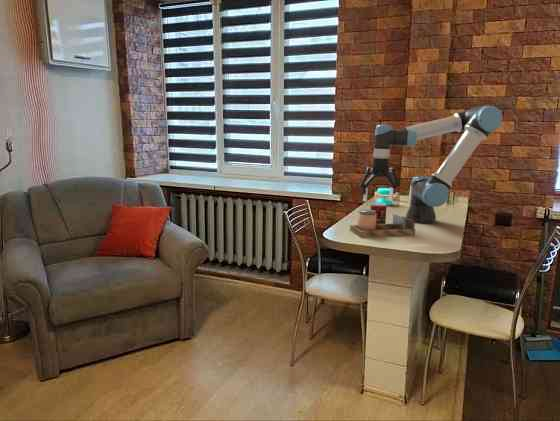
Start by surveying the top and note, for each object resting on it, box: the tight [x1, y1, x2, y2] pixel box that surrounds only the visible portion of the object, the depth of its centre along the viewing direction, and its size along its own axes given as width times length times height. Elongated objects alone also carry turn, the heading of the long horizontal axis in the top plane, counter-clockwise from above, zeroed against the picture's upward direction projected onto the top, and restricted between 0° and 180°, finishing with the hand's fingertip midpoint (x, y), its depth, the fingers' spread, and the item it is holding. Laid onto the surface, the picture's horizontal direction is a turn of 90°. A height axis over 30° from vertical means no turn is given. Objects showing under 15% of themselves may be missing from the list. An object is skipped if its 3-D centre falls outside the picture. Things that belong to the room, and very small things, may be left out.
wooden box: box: [349, 216, 416, 238], centre depth 196 cm, size 26×12×7 cm, turn 102°
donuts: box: [376, 187, 394, 207], centre depth 274 cm, size 10×10×10 cm
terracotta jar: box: [357, 208, 377, 231], centre depth 194 cm, size 8×8×10 cm
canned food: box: [369, 202, 388, 224], centre depth 214 cm, size 8×8×11 cm
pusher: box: [392, 214, 407, 230], centre depth 198 cm, size 4×10×7 cm, turn 12°
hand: (378, 201), depth 213 cm, fingers open, 13 cm apart
